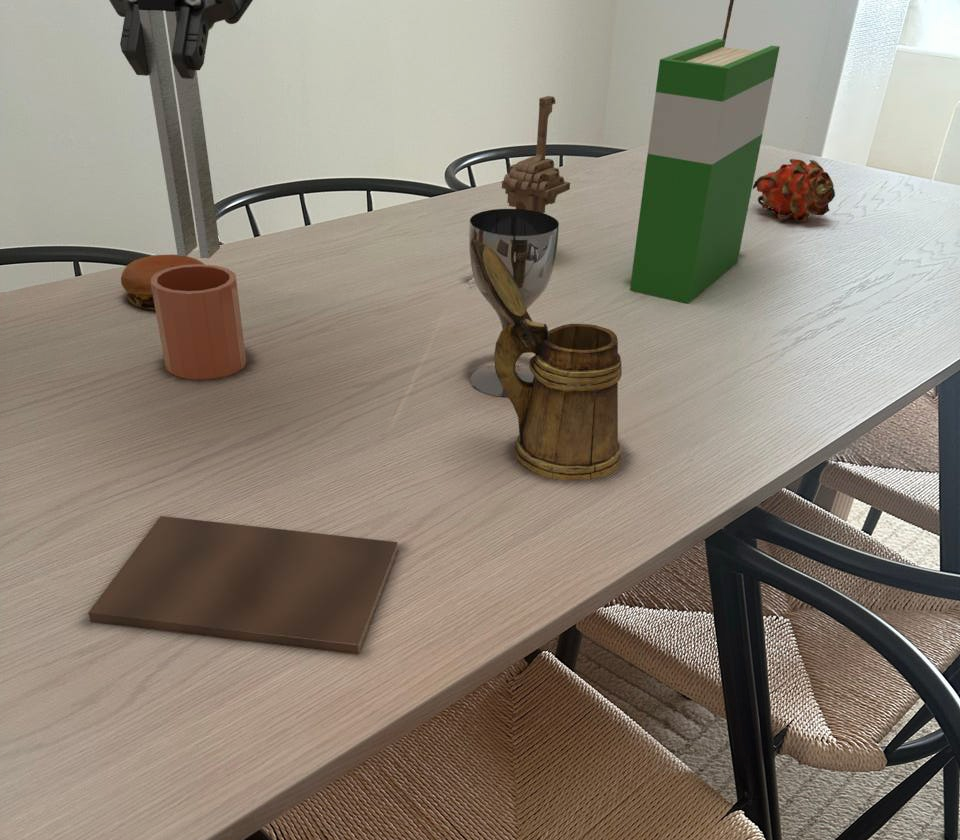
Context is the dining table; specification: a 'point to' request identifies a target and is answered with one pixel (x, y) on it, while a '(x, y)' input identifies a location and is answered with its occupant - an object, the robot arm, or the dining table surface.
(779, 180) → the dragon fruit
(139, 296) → the burger
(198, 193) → the tongs
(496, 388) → the wine glass
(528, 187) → the ostrich figurine
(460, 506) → the dining table surface
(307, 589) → the board
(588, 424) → the wooden mug
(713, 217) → the hardback book
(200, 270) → the holder
